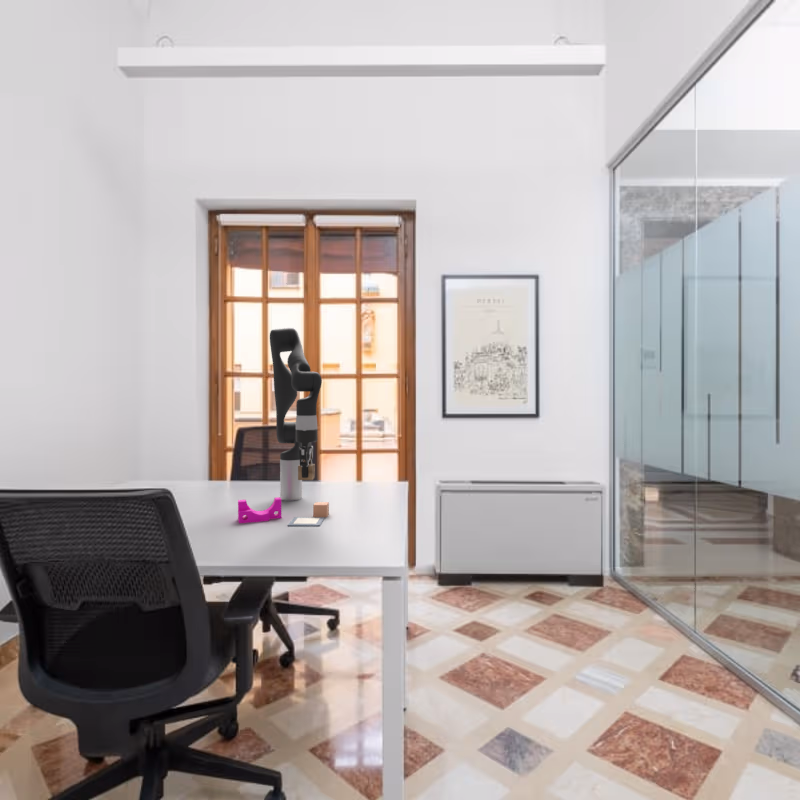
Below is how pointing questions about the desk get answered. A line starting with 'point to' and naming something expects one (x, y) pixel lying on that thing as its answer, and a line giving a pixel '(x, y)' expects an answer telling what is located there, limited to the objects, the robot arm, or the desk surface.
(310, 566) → the desk surface
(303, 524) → the blue bordered cream board
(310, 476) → the walnut cube
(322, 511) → the terracotta cube
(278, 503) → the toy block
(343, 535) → the desk surface
